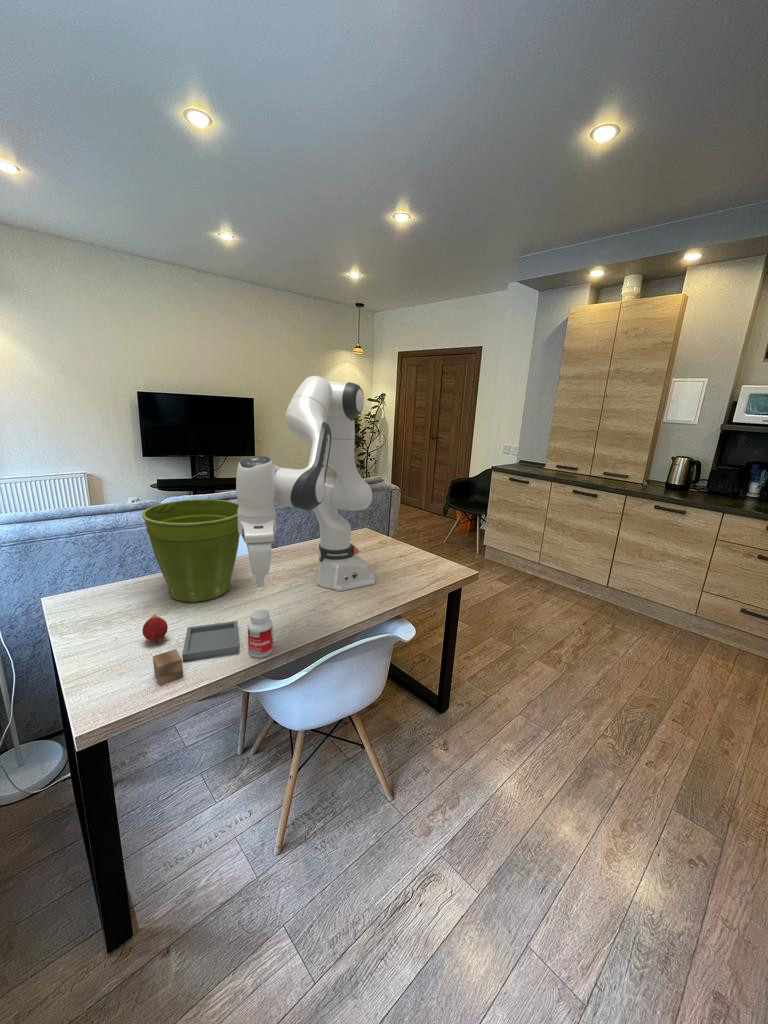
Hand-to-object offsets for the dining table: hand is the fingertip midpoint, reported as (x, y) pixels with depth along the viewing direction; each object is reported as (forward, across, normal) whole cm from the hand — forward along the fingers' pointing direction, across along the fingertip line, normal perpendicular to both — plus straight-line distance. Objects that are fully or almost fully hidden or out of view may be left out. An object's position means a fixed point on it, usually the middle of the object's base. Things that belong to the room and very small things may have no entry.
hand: (258, 577), depth 99 cm
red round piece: (+21, -12, -26) cm, 36 cm away
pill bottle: (+21, 0, 0) cm, 21 cm away
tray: (+21, -7, -12) cm, 25 cm away
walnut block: (+21, +4, -21) cm, 30 cm away
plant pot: (+21, -41, -17) cm, 49 cm away
